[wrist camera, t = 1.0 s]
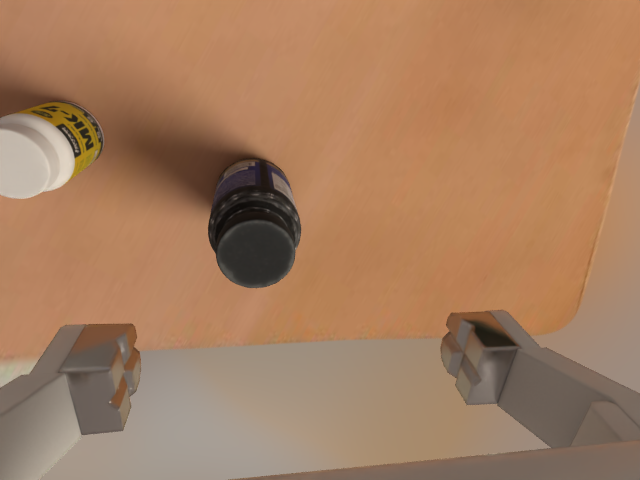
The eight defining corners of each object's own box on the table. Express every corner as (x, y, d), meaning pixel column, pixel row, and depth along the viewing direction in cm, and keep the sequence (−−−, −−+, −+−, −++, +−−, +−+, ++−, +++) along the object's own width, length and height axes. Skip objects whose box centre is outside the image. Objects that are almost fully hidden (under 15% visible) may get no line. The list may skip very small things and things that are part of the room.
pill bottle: (212, 220, 34) (196, 293, 24) (220, 149, 32) (207, 200, 22) (284, 230, 36) (296, 303, 26) (297, 163, 33) (316, 216, 23)
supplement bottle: (119, 136, 30) (76, 169, 23) (78, 177, 31) (24, 222, 24) (61, 84, 28) (-7, 101, 21) (18, 130, 29) (-62, 162, 22)
